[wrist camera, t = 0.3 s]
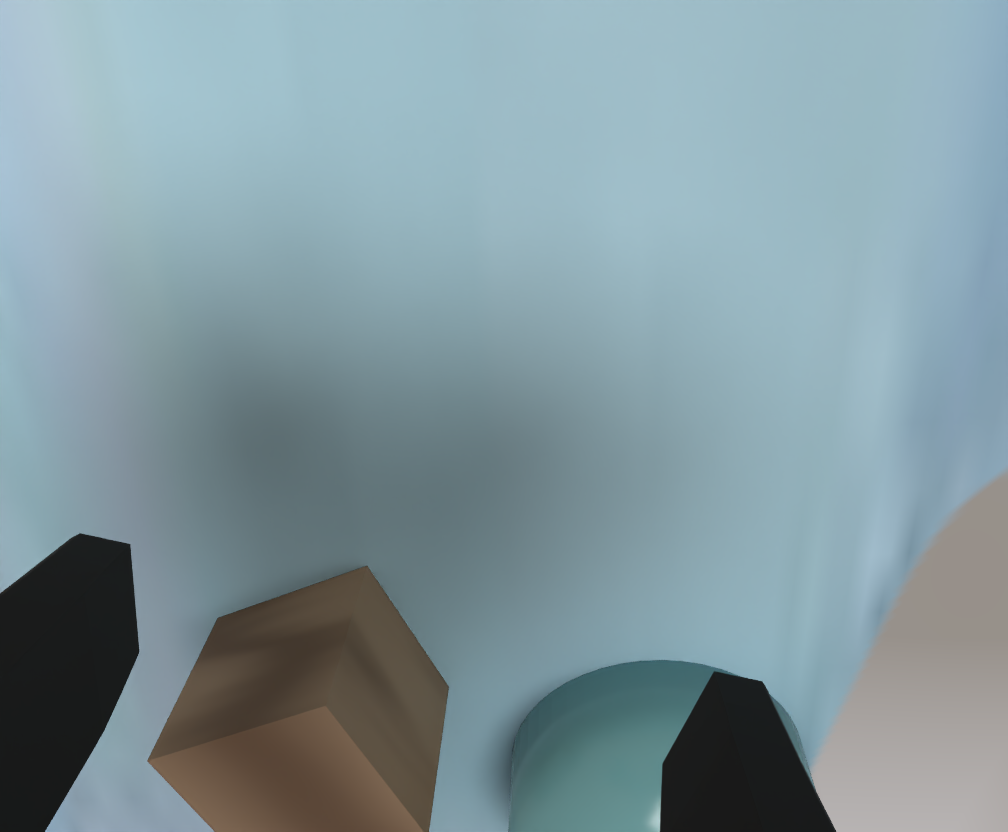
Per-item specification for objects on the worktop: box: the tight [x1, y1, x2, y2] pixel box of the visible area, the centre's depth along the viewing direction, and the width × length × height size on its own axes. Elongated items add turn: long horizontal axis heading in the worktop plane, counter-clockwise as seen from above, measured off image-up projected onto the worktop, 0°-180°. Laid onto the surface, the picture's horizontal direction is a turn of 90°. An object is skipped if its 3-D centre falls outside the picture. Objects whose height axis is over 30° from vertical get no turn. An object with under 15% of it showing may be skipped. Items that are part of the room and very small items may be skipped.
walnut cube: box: [148, 566, 449, 832], centre depth 23 cm, size 5×5×5 cm
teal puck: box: [508, 660, 816, 832], centre depth 25 cm, size 9×9×4 cm
